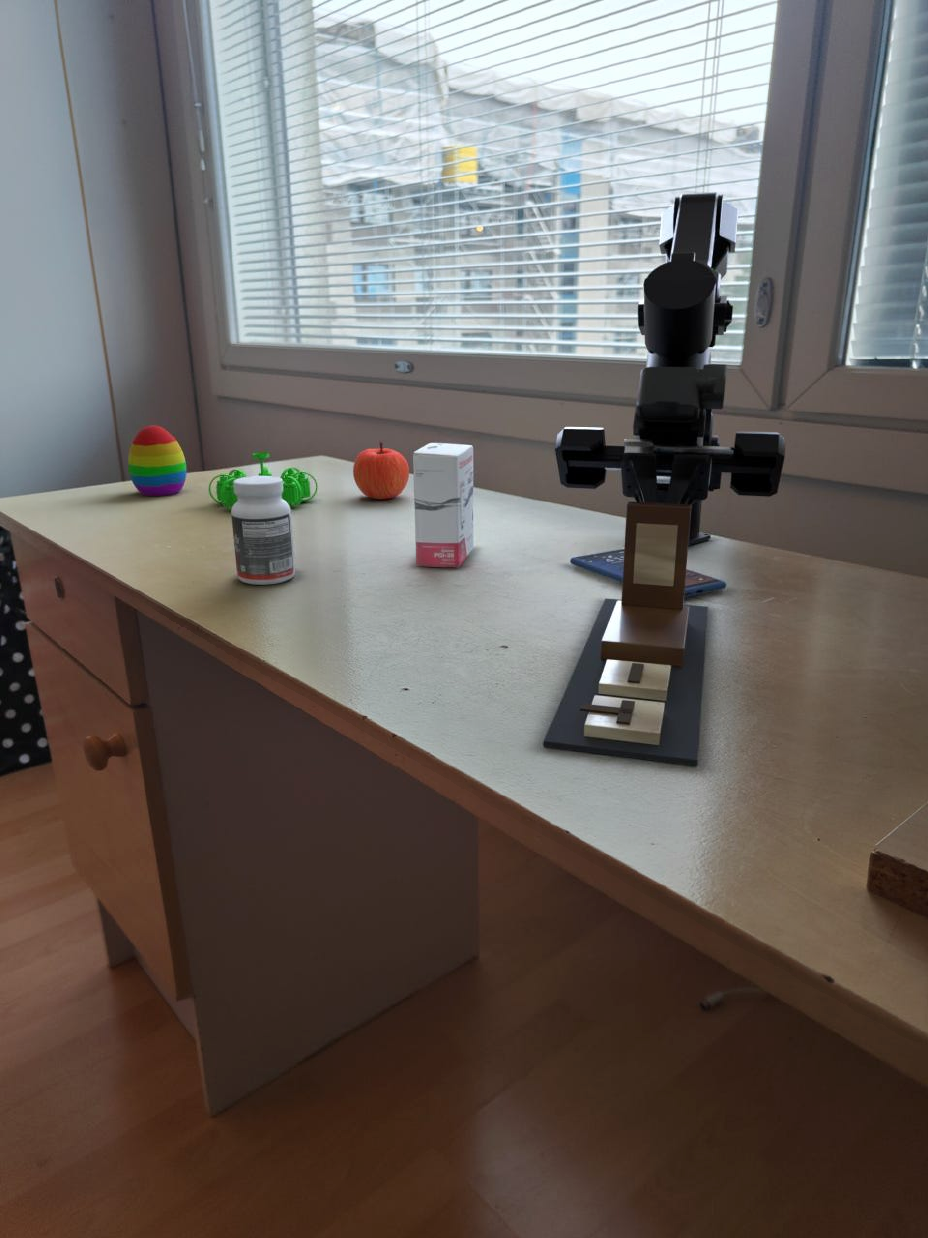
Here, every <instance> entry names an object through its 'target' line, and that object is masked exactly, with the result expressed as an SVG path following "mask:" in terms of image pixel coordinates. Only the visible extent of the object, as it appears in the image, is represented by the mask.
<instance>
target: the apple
mask: <svg viewBox="0 0 928 1238" xmlns="http://www.w3.org/2000/svg"><path fill="white" fill-rule="evenodd" d="M352 475H353V479H354V482H355V485H356V486H357V488H358V490H359V491H360V492H361V493H362V494H363V495H364V496H365V497H368V498H372V499H374V500H387V499H393V498H396V497H398V496H399V495H400V494H401V493H402V492H403V491H404V490H405V488H406V487H407V484H408V481H409V477H410V468H409V465H408V462H407V459H406V458H405V456H404V455H402V453H400V452H399V451H396V450H394V449H391V448H386V447H383V442H382V441H379V448H366V449H363V450H361V452H359V454H357V456H356V458H355V460H354V463H353V466H352Z"/></svg>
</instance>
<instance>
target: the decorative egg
mask: <svg viewBox="0 0 928 1238" xmlns="http://www.w3.org/2000/svg"><path fill="white" fill-rule="evenodd" d="M127 467H128V474H129V477H130V479H131V482H132V484H133V486H134V487H135V488H136V490H137V491H138V492H139V493H140V494H141V495H143V496H147V497H163V496H173V495H175V494H179V492H181V490H182V489H183V487H184V485H185V483H186V480H187V463H186V458H185V455H184V452H183V449H182V448H181V446H180V444H179V442H178V441H177V440H176V438H175V437H174V436H173V435H172V434H171V433H170V432H169V431H168V430H166V428H164V427H162V426H160V425H156V424H155V425H153V424H152V425H151V424H150V425H148V426H145V427H143V428H142V429H141V430H139V432H138V433H137V434H136V436H135V437H134V439H133V441H132V442H131V445H130V448H129V451H128V459H127Z"/></svg>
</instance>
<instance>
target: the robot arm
mask: <svg viewBox="0 0 928 1238" xmlns="http://www.w3.org/2000/svg"><path fill="white" fill-rule="evenodd" d="M738 218H739V209H738V207H735V206H734V205H732V204H730V203H728V202H726V201H724V194H718V192H715V191H714V192H692V193H691V192H690V193H682V194H680V196H675V197H674V201H673V204H672V205H671V206H668V208H666V209H664V210H663V211H662V212H661V221H660V235H659V250H660V254H661V255H662V256H663V255H665V263H663V264H660V265H659V266H657V267H655V268H654V269H653V270H651V272H650V273H648V275H647V276H646V277H645V278H644V280H643V286H642V287H643V297H642V298H641V300H640V301H639V302H638V303H637V327H638V329H639V332H640V335H641V336H644V345H645V348H646V350H647V355H646V363H645V367H644V368H642V369H640V372H639V373H640V374H639V384H638V393H637V394H638V395H637V403H636V404H635V409H634V410H635V411H634V416H633V417H634V418H633V425H632V430H633V431H632V433H633V436H635V438H625V439H624V442H623V445H607V443H606V431H605V427H589V426H588V427H586V426H565V427H564V428H562V430H561V431H560V432H558V433H557V435H556V440H555V444H554V445H555V446H554V453H555V459H556V464H557V470H558V471H557V472H558V476H559V482H560V485H562V486H564V487H566V488H568V489H586V490H587V489H588V490H596V489H597V488H599V487H600V486H601V485H603V484H605V483H606V478H607V471H618V472H620V474H621V475H620V476H621V489H622V495H623V496H624V497H626V498H632V499H634V500H635V501H634V502H652V503H672V504H691V505H692V507H691V520H690V532H689V544H688V546H691V545H694V544H698V543H700V542H704V541H707V540H710V539H711V537H712V534H710V533H706V532H702V531H701V532H700V526H701V513H702V503H703V501H705V500H707V499H708V496H709V492H714V490H715V491H716V490H720V489H721V486H722V484H721V483H722V475H723V473H730V484H729V488H730V489H731V490H732V491H733V492H734V493H735V494H736V495H738V496H741V497H742V496H743V497H744V496H745V497H764V498H765V497H766V498H769V497H772V496H775V495H777V494H778V492H779V487H780V482H781V477H782V472H783V467H784V462H785V457H786V440H785V438H784V437H783V436H782V435H781V434H780V433H779V432H777V431H739V430H738V431H737V430H736V431H735V435H734V443H733V446H722V445H721V442H720V441H719V435H713V429H714V427H713V426H714V414H713V412H712V410H723V409H724V402H725V393H726V380H727V371H728V364H726V363H725V364H722V363H721V364H717V363H716V364H715V363H713V364H711V361H712V352H711V350H710V348H714V347H716V339H717V336H725V334H724V333H727V327H728V326H729V325H730V324H732V321H733V311H734V305H732V304H731V303H730V300H729V299H728V295H721V281H722V279H724V277H725V276H726V275H727V273H728V260H729V253H730V254H731V253H733V254H734V253H736V242H737V232H738V231H737V229H738Z"/></svg>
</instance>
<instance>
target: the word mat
mask: <svg viewBox="0 0 928 1238" xmlns="http://www.w3.org/2000/svg"><path fill="white" fill-rule="evenodd" d="M617 601H621V599H618V598H617V599H616V598H605V599H604V601H603V604H602V606H601V607H600V611H599V613H598V615H597V617H596V619H595V622H594V624H593V626H592V628H591V631H590V633H589V636H588V637H587V640H586V642H585V645H584V647H583V650H582V652H581V654H580V656H579V659H578V661H577V663H576V666H575V668H574V670H573V672H572V674H571V677H570V680H569V682H568V684H567V686H566V688H565V691H564V693H563V696H562V698H561V700H560V702H559V705H558V707H557V709H556V712H555V714H554V716H553V718H552V721H551V723H550V725H549V727H548V729H547V732H546V735H545V737H544V739H543V743H542V744H543V745H542V746H543V747H545V748H551V749H559V750H565V751H566V750H567V751H575V752H583V753H590V754H599V755H605V756H606V755H607V756H613V757H614V756H615V757H622V758H631V759H637V760H646V761H654V762H661V763H669V764H676V765H677V764H678V765H684V766H685V765H687V766H693V767H697V766H698V758H699V757H698V756H699V743H700V742H699V741H700V728H701V727H700V726H701V716H702V715H701V713H702V712H701V711H702V699H703V685H704V684H703V682H704V671H705V653H706V641H707V640H706V639H707V625H708V612H709V611H708V610H709V606H708V605H695V604H694V605H693V604H684V606H689V607H690V609H689V621H688V629H687V637H686V645H685V653H684V661H683V667H676V666H670V665H661V664H650V663H640V662H630V661H620V660H609V659H607V660H604V659H601V658H600V655H601V641H602V638H603V635H604V633H605V630H606V628H607V625H608V622H609V620H610V617H611V615H612V612H613V610H614V607H615V604H616V602H617Z"/></svg>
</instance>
